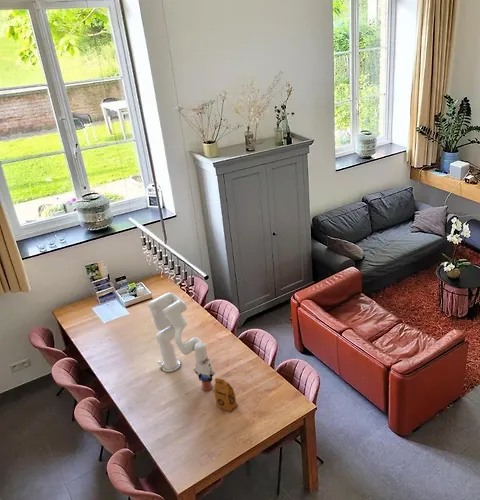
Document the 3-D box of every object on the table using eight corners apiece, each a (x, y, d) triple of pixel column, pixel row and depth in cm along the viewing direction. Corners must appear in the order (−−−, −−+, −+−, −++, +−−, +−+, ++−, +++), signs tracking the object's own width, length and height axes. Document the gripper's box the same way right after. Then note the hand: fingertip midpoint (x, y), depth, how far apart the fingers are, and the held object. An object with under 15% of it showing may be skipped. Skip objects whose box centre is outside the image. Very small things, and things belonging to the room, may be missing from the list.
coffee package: (228, 414, 337) (224, 388, 327) (214, 407, 343) (210, 381, 333) (239, 404, 345) (235, 379, 334) (225, 397, 351) (221, 372, 340)
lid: (203, 374, 359) (203, 372, 358) (212, 375, 357) (212, 373, 356) (198, 380, 353) (198, 378, 352) (207, 382, 352) (207, 380, 351)
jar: (202, 391, 356) (200, 380, 352) (203, 384, 362) (201, 374, 357) (211, 390, 357) (209, 380, 352) (212, 384, 362) (210, 374, 357)
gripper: (216, 358, 349) (220, 378, 357) (193, 353, 353) (197, 374, 361) (211, 365, 342) (215, 386, 351) (187, 361, 346) (191, 381, 355)
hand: (205, 379), depth 356 cm, fingers closed on lid, 6 cm apart
